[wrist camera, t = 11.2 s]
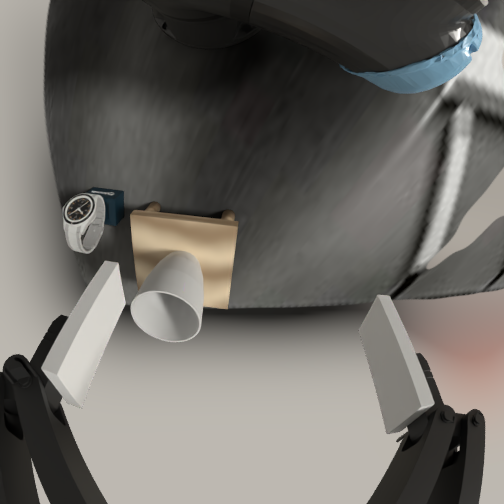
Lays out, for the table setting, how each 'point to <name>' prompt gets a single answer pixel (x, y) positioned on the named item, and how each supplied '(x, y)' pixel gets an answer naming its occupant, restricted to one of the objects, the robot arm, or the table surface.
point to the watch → (91, 216)
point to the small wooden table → (187, 246)
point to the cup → (171, 299)
